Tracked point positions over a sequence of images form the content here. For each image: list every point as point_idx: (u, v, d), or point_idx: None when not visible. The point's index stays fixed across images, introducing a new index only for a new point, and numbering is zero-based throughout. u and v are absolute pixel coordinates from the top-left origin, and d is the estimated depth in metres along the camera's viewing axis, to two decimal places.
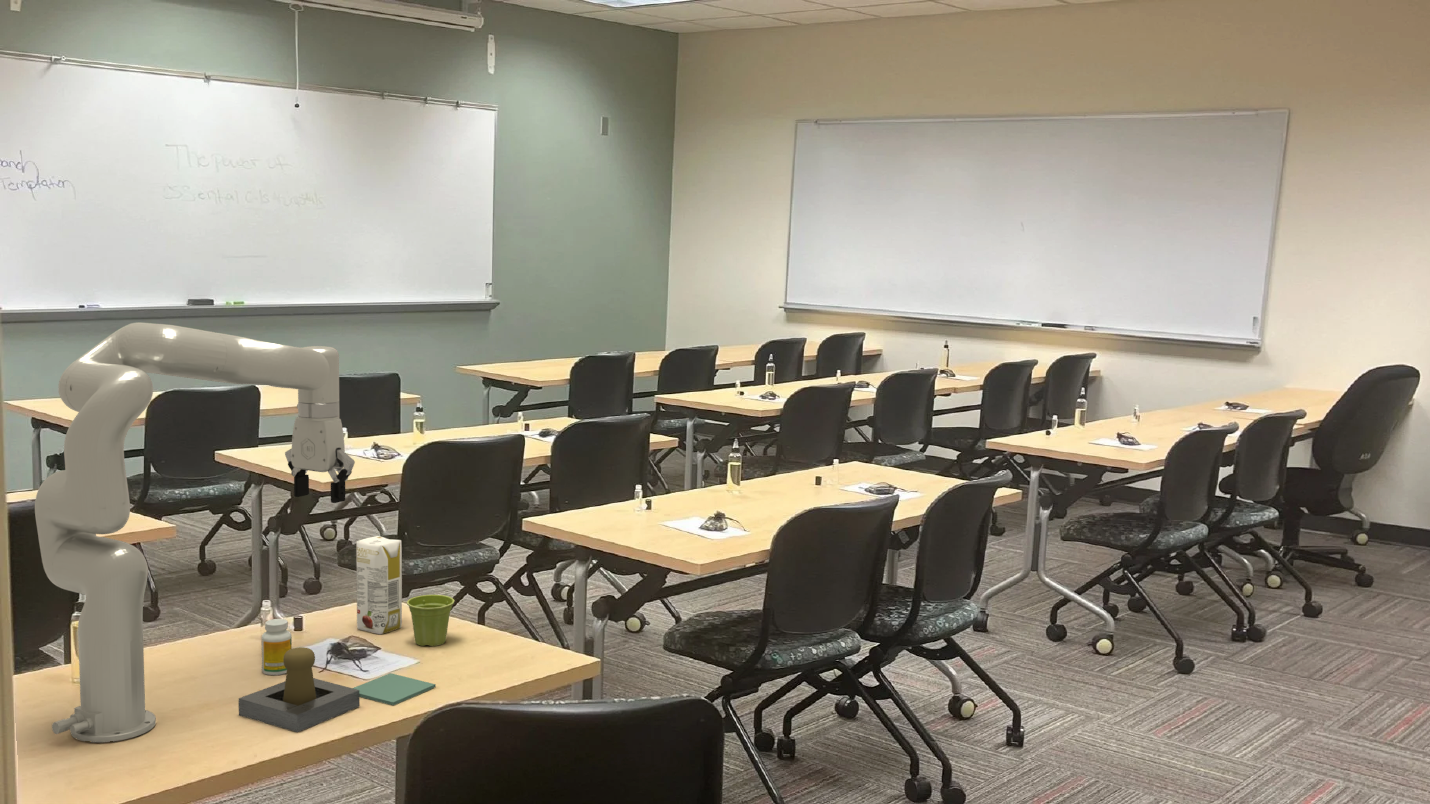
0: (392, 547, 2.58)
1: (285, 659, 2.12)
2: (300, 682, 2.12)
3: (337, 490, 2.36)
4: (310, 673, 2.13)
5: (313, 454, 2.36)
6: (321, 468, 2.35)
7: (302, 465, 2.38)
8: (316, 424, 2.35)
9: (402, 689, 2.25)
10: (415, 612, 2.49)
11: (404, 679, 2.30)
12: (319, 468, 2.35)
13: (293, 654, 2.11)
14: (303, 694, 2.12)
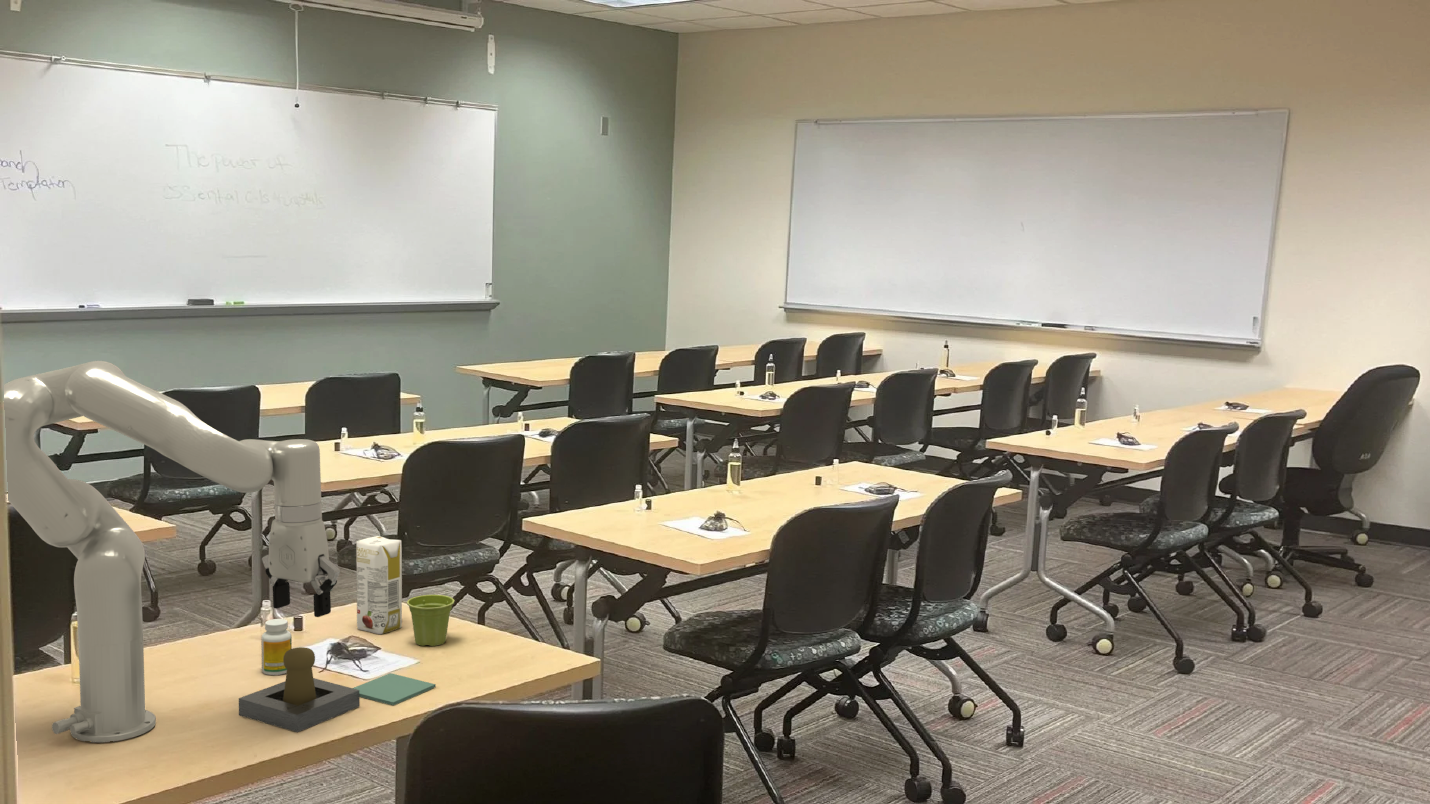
0: (392, 547, 2.58)
1: (285, 659, 2.12)
2: (300, 682, 2.12)
3: (321, 602, 2.09)
4: (310, 673, 2.13)
5: (293, 563, 2.08)
6: (302, 579, 2.08)
7: (281, 575, 2.10)
8: (296, 529, 2.08)
9: (402, 689, 2.25)
10: (415, 612, 2.49)
11: (404, 679, 2.30)
12: (300, 578, 2.08)
13: (293, 654, 2.11)
14: (303, 694, 2.12)
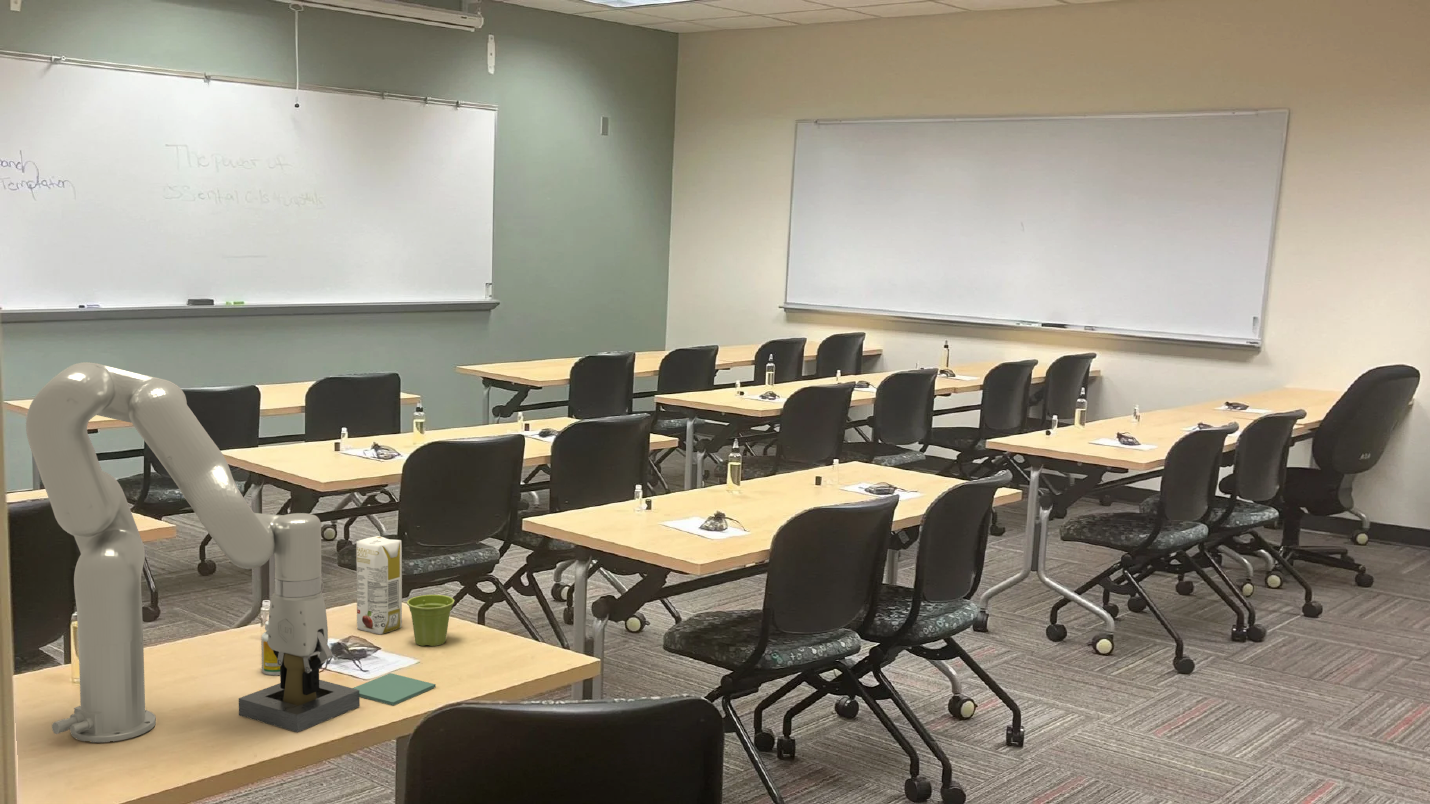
0: (392, 547, 2.58)
1: (285, 659, 2.12)
2: (300, 681, 2.12)
3: (310, 681, 2.12)
4: None
5: (292, 637, 2.10)
6: (301, 653, 2.09)
7: (280, 648, 2.12)
8: (296, 604, 2.09)
9: (402, 689, 2.25)
10: (415, 612, 2.49)
11: (404, 679, 2.30)
12: (299, 653, 2.10)
13: None
14: (303, 694, 2.12)
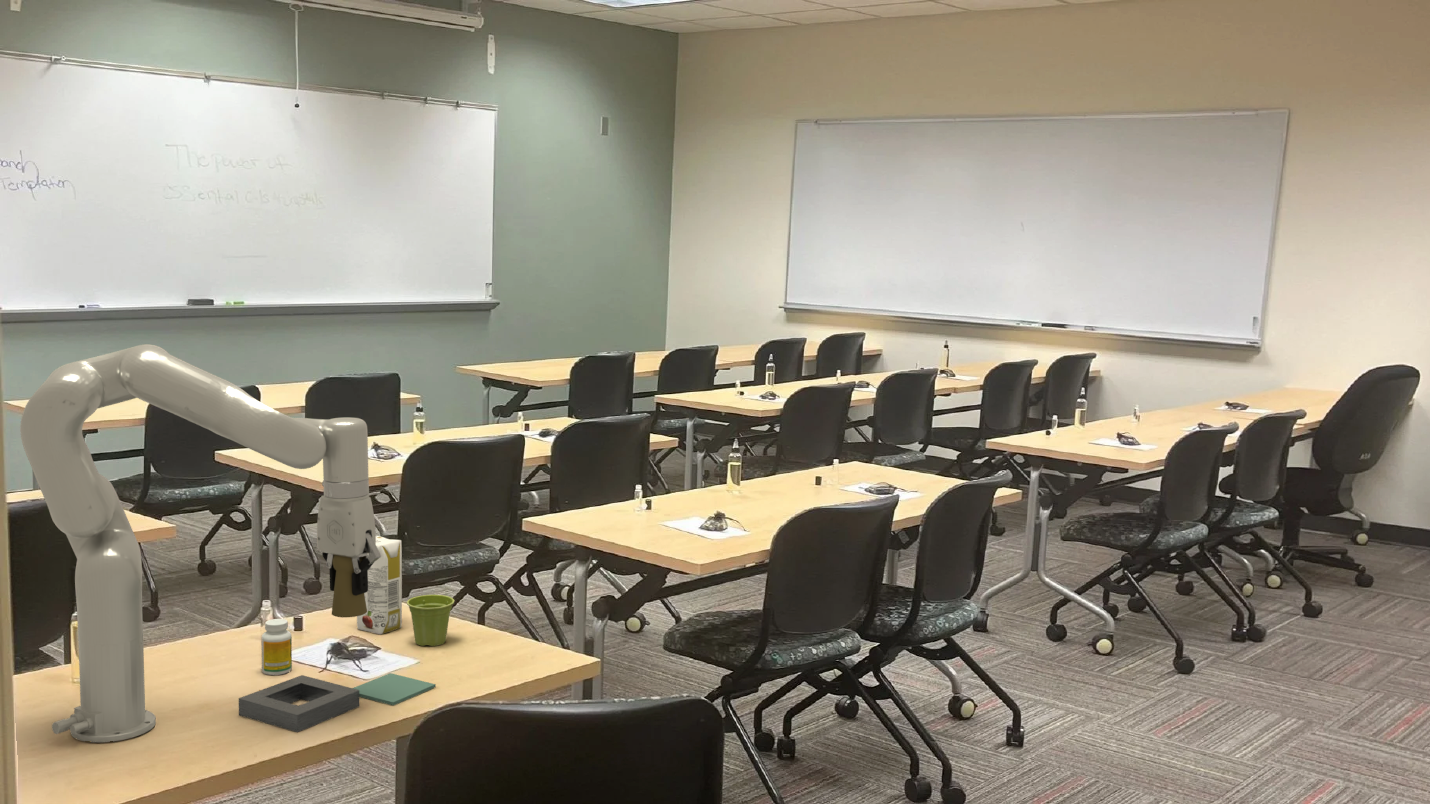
0: (392, 547, 2.58)
1: (334, 560, 2.16)
2: (349, 582, 2.16)
3: (359, 581, 2.15)
4: None
5: (341, 538, 2.14)
6: (350, 553, 2.13)
7: (329, 549, 2.15)
8: (344, 505, 2.13)
9: (402, 689, 2.25)
10: (415, 612, 2.49)
11: (404, 679, 2.30)
12: (348, 553, 2.13)
13: None
14: (352, 595, 2.16)
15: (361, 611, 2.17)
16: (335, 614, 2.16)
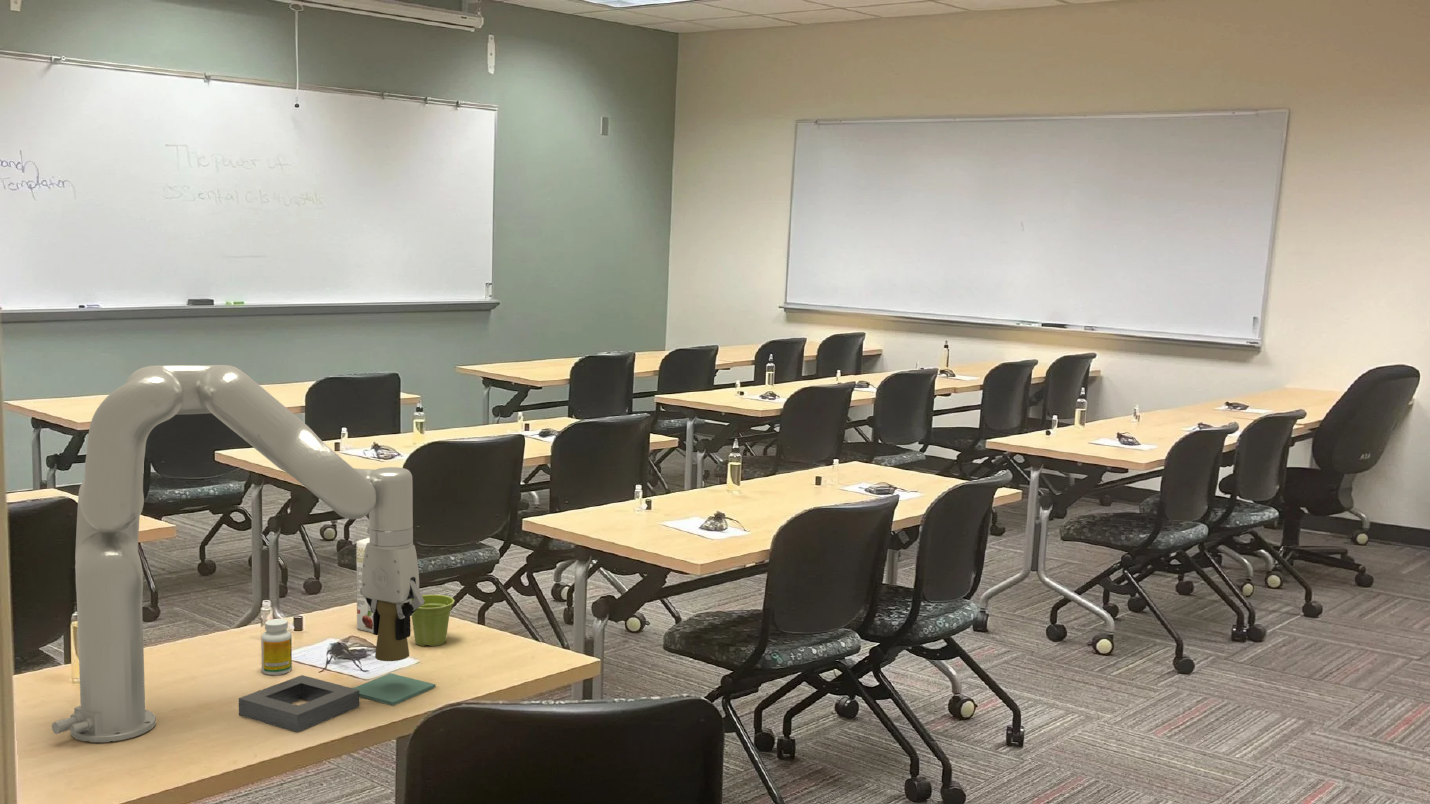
0: None
1: (379, 606, 2.22)
2: (393, 627, 2.22)
3: (402, 626, 2.22)
4: None
5: (386, 584, 2.20)
6: (395, 600, 2.20)
7: (373, 595, 2.22)
8: (390, 553, 2.19)
9: (402, 689, 2.25)
10: (415, 612, 2.49)
11: (404, 679, 2.30)
12: (393, 599, 2.20)
13: None
14: None
15: (404, 655, 2.24)
16: (379, 658, 2.23)
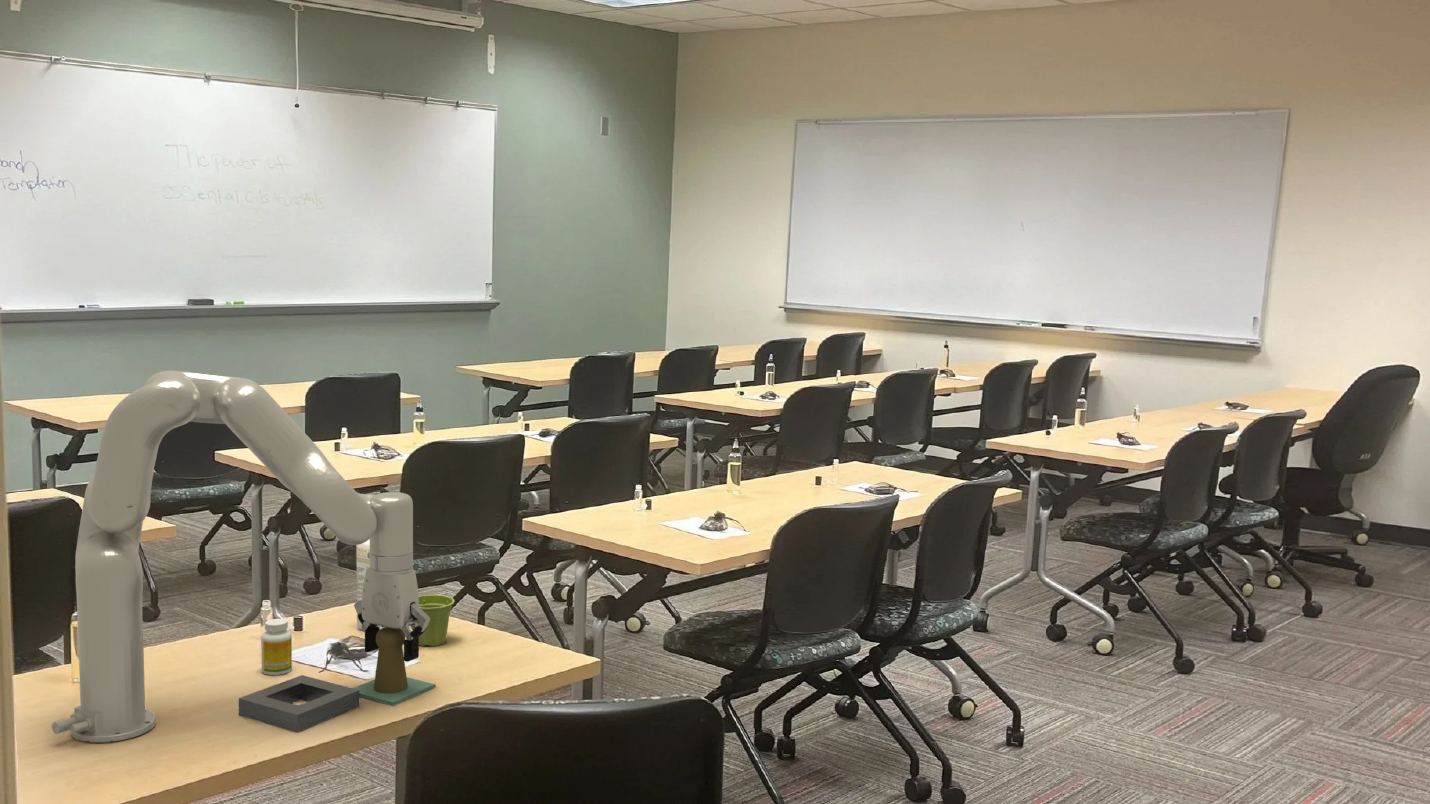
0: None
1: (378, 638, 2.22)
2: (392, 659, 2.23)
3: (411, 648, 2.21)
4: (401, 651, 2.24)
5: (386, 609, 2.21)
6: (394, 625, 2.20)
7: (373, 620, 2.22)
8: (390, 578, 2.20)
9: None
10: None
11: None
12: (392, 624, 2.20)
13: (385, 633, 2.22)
14: (395, 671, 2.23)
15: (403, 687, 2.24)
16: (378, 690, 2.23)
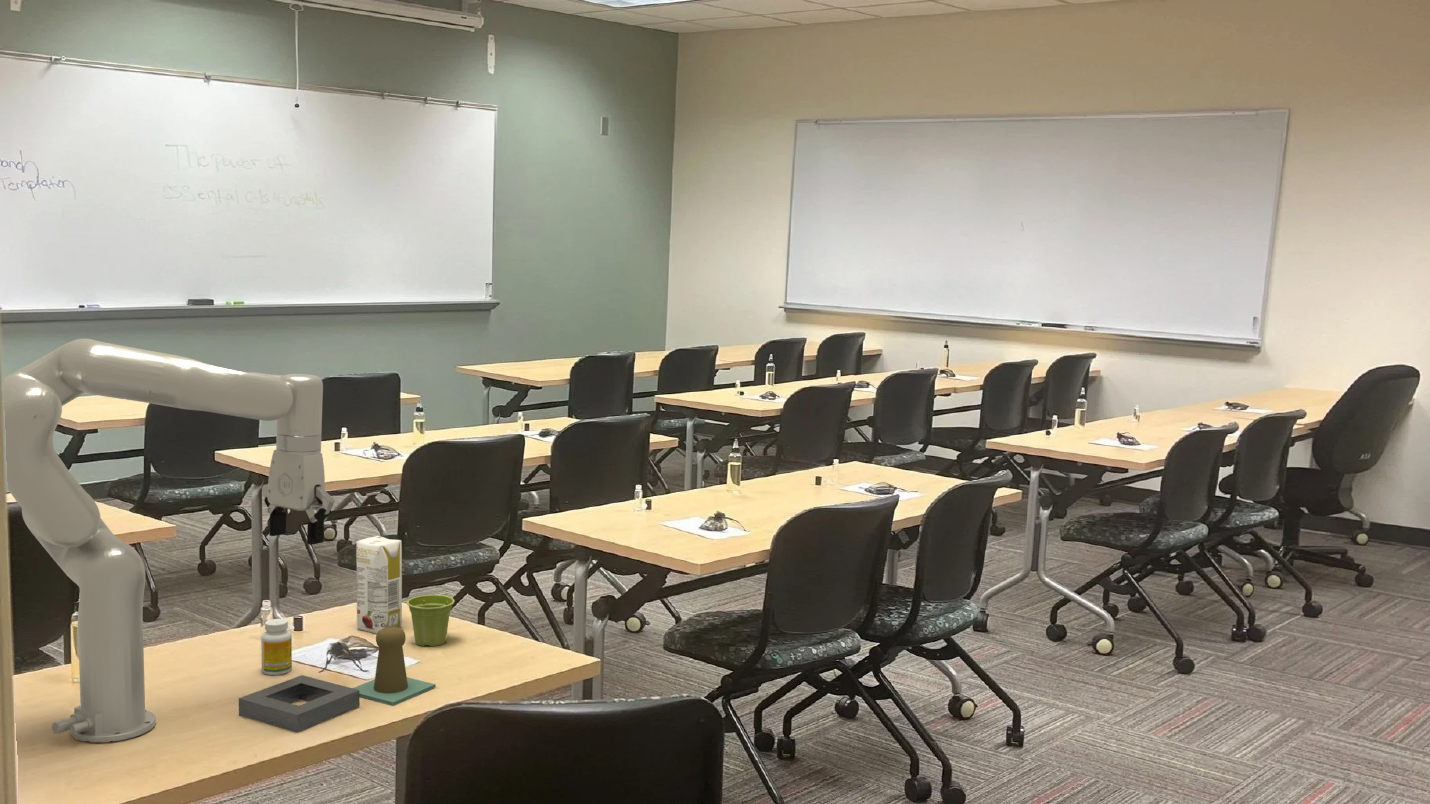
0: (392, 547, 2.58)
1: (378, 638, 2.22)
2: (392, 659, 2.23)
3: (314, 531, 2.18)
4: (401, 651, 2.24)
5: (290, 491, 2.18)
6: (298, 506, 2.17)
7: (278, 502, 2.19)
8: (295, 458, 2.17)
9: None
10: (415, 612, 2.49)
11: None
12: (296, 506, 2.17)
13: (386, 633, 2.22)
14: (395, 671, 2.23)
15: (403, 687, 2.24)
16: (378, 690, 2.23)
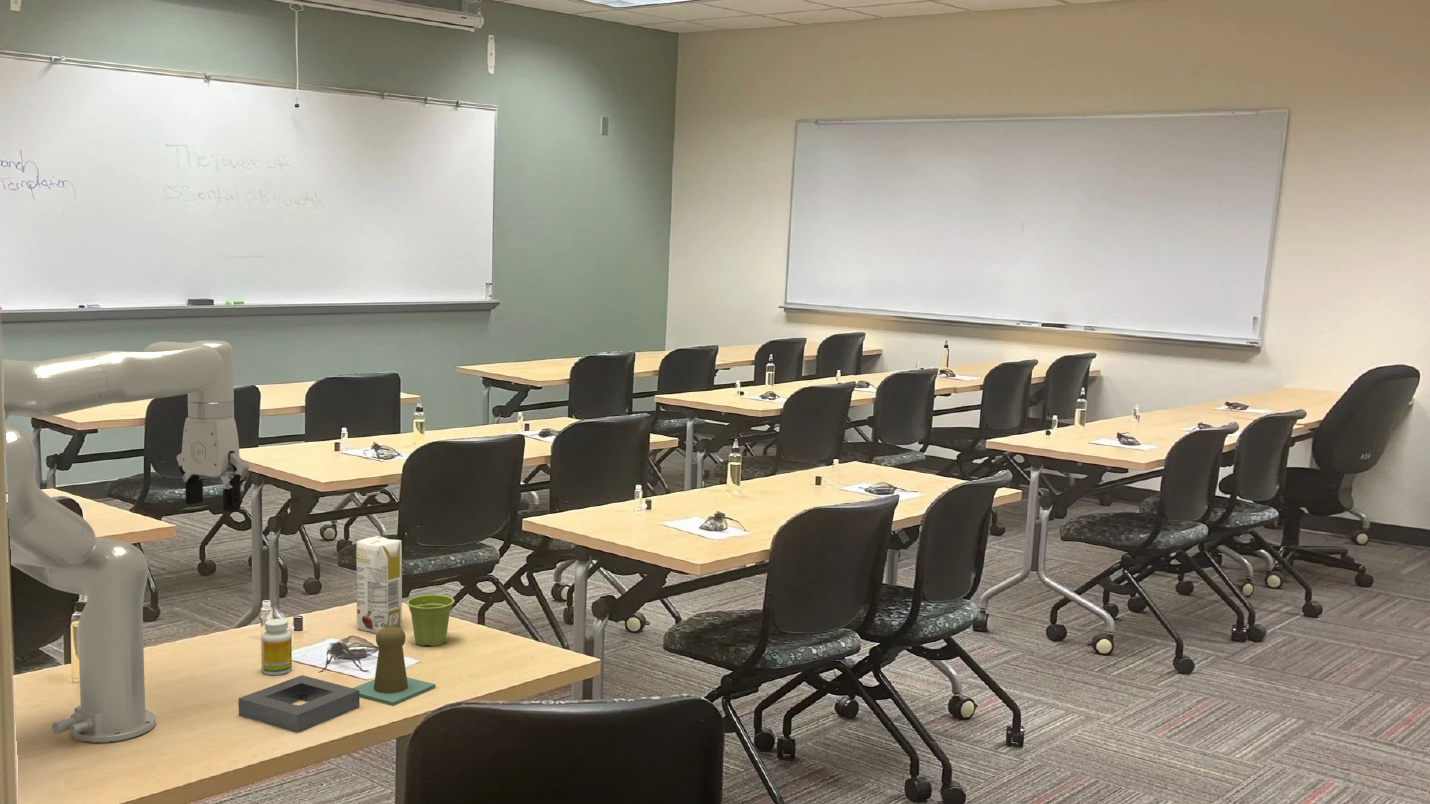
0: (392, 547, 2.58)
1: (378, 638, 2.22)
2: (392, 659, 2.23)
3: (230, 497, 2.17)
4: (401, 651, 2.24)
5: (204, 458, 2.16)
6: (212, 473, 2.16)
7: (192, 470, 2.18)
8: (207, 425, 2.16)
9: None
10: (415, 612, 2.49)
11: None
12: (210, 473, 2.16)
13: (386, 633, 2.22)
14: (395, 671, 2.23)
15: (403, 687, 2.24)
16: (378, 690, 2.23)
